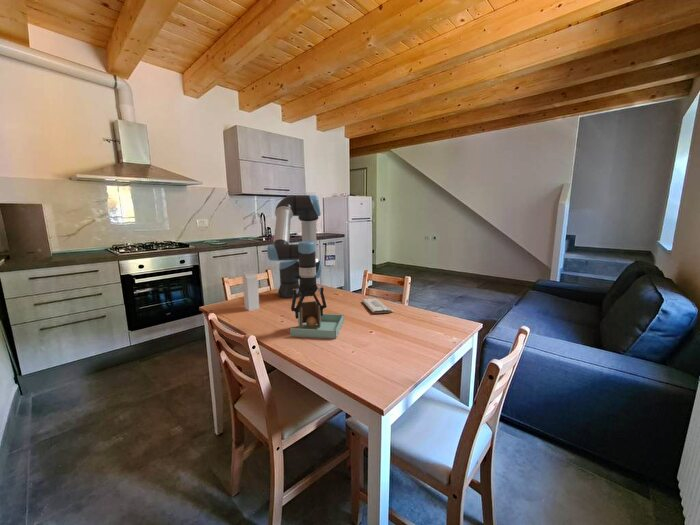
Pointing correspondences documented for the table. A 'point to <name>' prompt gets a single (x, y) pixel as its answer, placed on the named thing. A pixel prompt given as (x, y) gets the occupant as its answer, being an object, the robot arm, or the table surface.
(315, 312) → the sleeve
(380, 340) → the table surface
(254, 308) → the milk
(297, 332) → the tray
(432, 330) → the table surface
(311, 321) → the ball
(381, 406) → the table surface
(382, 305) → the newspaper
